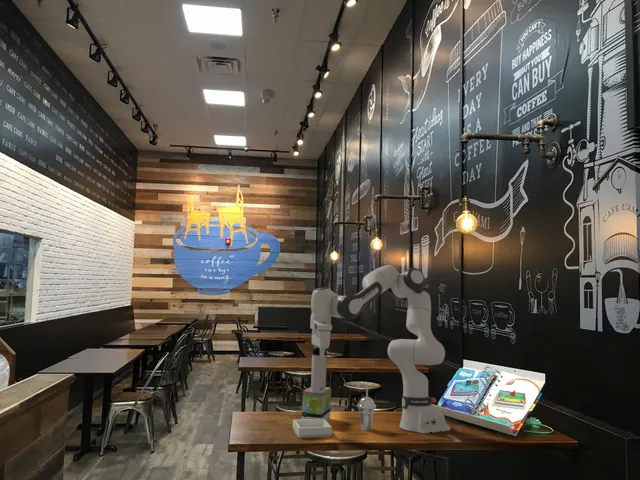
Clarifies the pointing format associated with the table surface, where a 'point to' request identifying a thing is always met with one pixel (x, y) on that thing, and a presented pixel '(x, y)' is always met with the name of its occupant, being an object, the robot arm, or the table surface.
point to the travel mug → (318, 373)
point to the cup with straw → (366, 410)
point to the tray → (312, 428)
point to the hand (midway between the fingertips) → (319, 357)
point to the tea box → (316, 405)
